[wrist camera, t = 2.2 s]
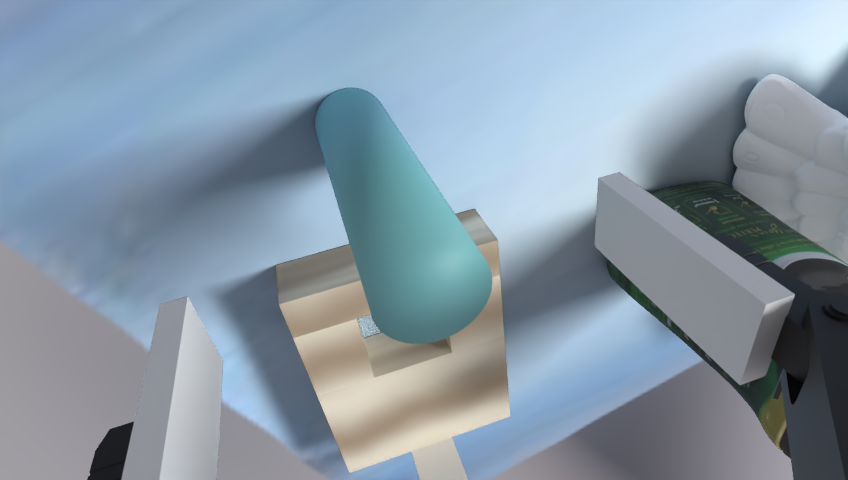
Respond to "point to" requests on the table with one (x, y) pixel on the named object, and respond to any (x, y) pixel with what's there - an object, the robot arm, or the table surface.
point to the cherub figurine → (796, 161)
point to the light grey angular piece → (439, 462)
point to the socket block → (393, 360)
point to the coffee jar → (768, 236)
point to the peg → (399, 225)
